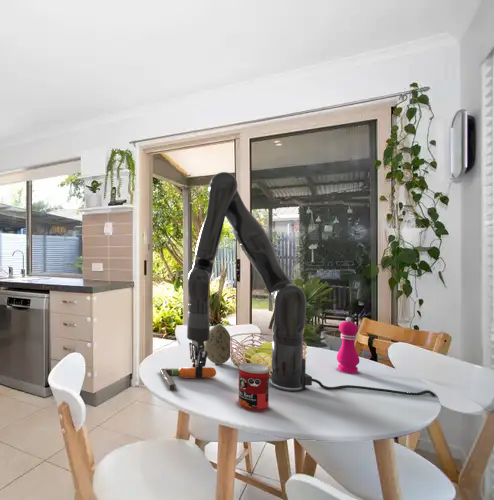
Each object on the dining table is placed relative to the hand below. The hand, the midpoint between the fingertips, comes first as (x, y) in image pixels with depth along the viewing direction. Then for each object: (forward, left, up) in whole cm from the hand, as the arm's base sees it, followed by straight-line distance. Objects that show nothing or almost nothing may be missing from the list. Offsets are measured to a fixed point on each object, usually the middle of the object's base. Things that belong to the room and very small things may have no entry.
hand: (197, 375), depth 127 cm
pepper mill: (-59, -6, -1) cm, 59 cm away
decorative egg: (-13, -16, -1) cm, 21 cm away
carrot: (0, 0, 0) cm, 0 cm away
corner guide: (+4, +3, -1) cm, 5 cm away
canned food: (-9, +24, -1) cm, 25 cm away
